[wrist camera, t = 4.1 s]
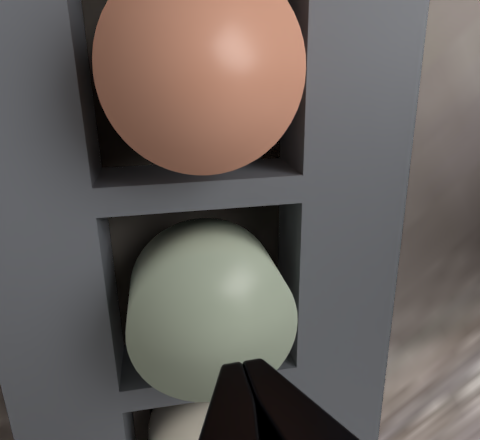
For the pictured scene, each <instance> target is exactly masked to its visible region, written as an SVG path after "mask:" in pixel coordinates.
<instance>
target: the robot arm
mask: <svg viewBox="0 0 480 440" xmlns="http://www.w3.org/2000/svg"><path fill="white" fill-rule="evenodd" d="M198 440H360V439H359V438H357V437H356V436H355V435H354V434H353V433H351V432H350V431H349V430H348V429H347V428H345V427H344V426H343V425H342V424H340V423H339V422H338V421H337V420H336V419H334V418H333V417H332V416H331V415H330V414H328V413H327V412H326V411H325V410H324V409H322V408H321V407H320V406H319V405H318V404H316V403H315V402H314V401H313V400H312V399H310V398H309V397H308V396H307V395H306V394H304V393H303V392H302V391H301V390H300V389H298V388H297V387H296V386H295V385H294V384H292V383H291V382H290V381H289V380H288V379H286V378H285V377H284V376H283V375H282V374H280V373H279V372H278V371H277V370H276V369H274V368H273V367H272V366H271V365H269V364H268V363H267V362H266V361H265V360H263V359H261V358H257V359H251V360H245V361H244V362H243V363H241V362H233V363H227V364H223V365H222V366H221V368H220V372H219V375H218V378H217V381H216V385H215V388H214V391H213V394H212V397H211V401H210V404H209V407H208V410H207V413H206V417H205V420H204V423H203V426H202V429H201V433H200V436H199V439H198Z"/></svg>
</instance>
